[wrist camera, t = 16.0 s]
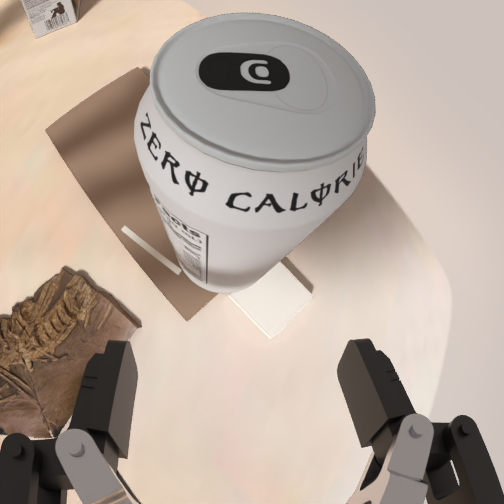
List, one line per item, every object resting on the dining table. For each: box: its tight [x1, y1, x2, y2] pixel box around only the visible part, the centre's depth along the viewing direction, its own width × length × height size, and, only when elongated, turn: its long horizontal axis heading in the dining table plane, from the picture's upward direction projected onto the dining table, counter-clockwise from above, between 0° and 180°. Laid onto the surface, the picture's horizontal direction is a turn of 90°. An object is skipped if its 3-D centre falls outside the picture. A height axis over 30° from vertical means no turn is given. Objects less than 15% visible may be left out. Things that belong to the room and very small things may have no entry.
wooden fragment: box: [0, 268, 141, 438], centre depth 16 cm, size 26×11×1 cm, turn 116°
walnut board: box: [45, 67, 219, 321], centre depth 21 cm, size 20×10×1 cm, turn 43°
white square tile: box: [229, 262, 314, 339], centre depth 21 cm, size 4×4×1 cm
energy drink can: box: [134, 13, 376, 293], centre depth 13 cm, size 6×6×15 cm
